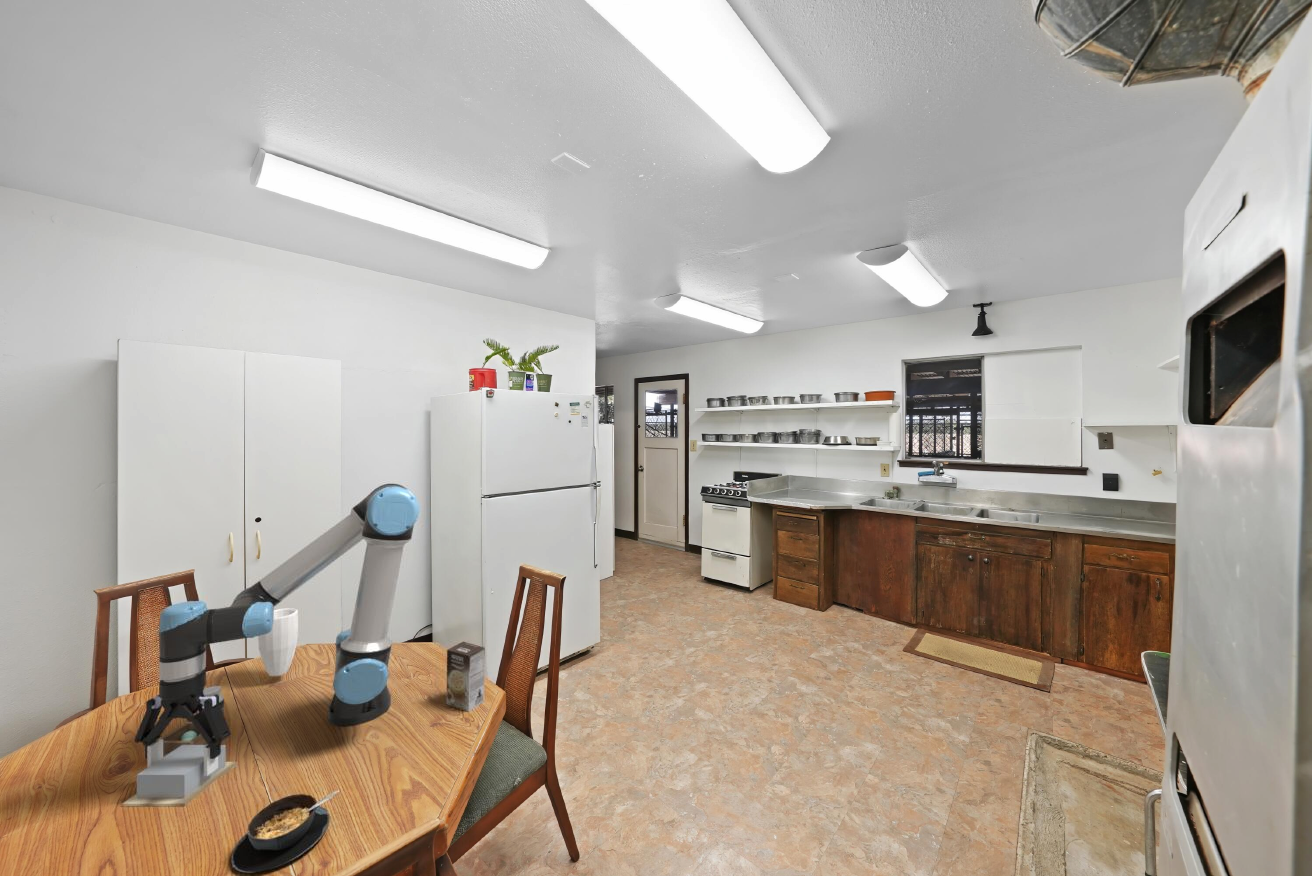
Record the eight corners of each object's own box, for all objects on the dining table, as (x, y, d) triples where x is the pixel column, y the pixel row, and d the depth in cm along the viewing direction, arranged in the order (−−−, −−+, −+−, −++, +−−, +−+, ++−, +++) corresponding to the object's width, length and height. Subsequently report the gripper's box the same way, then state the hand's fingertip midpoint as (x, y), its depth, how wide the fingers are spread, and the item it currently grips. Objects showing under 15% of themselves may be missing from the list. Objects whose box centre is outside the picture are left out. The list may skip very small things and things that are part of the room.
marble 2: (191, 753, 119) (201, 740, 121) (185, 747, 117) (194, 734, 120) (179, 753, 119) (188, 740, 121) (172, 747, 117) (182, 734, 120)
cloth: (237, 764, 115) (237, 761, 115) (184, 806, 102) (184, 803, 102) (181, 764, 115) (181, 761, 115) (122, 806, 102) (122, 803, 102)
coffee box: (445, 704, 141) (445, 649, 141) (462, 694, 147) (462, 640, 147) (468, 712, 137) (469, 655, 137) (485, 701, 143) (485, 646, 143)
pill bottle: (206, 735, 126) (206, 697, 126) (188, 732, 127) (188, 694, 127) (229, 722, 132) (229, 686, 132) (212, 720, 133) (212, 683, 133)
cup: (282, 690, 148) (282, 619, 148) (248, 690, 149) (248, 619, 148) (307, 673, 159) (307, 607, 159) (275, 673, 159) (275, 607, 159)
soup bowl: (275, 811, 101) (275, 776, 101) (352, 813, 101) (352, 777, 101) (208, 876, 87) (208, 834, 86) (297, 879, 86) (297, 837, 86)
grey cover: (225, 766, 114) (225, 744, 114) (184, 798, 104) (184, 774, 104) (182, 766, 114) (182, 744, 114) (136, 798, 104) (136, 774, 104)
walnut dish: (222, 741, 124) (222, 721, 124) (190, 763, 115) (190, 742, 115) (187, 741, 124) (187, 721, 124) (153, 763, 115) (153, 742, 115)
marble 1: (200, 740, 123) (200, 727, 123) (188, 747, 120) (188, 734, 120) (188, 740, 123) (188, 728, 123) (176, 747, 120) (176, 735, 120)
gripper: (251, 666, 113) (251, 760, 113) (146, 666, 112) (146, 760, 112) (222, 682, 105) (222, 783, 105) (110, 682, 105) (110, 784, 105)
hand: (183, 772), depth 109 cm, fingers open, 12 cm apart
